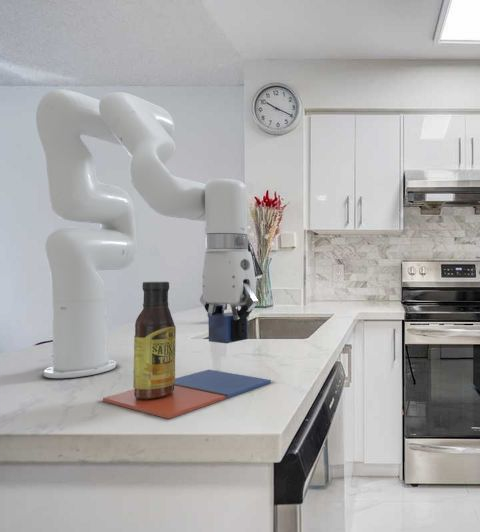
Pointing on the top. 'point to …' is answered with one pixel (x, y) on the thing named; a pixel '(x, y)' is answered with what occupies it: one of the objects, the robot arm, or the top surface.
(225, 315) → the blue block
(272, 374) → the top surface
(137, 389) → the sauce bottle
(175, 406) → the sorting board
